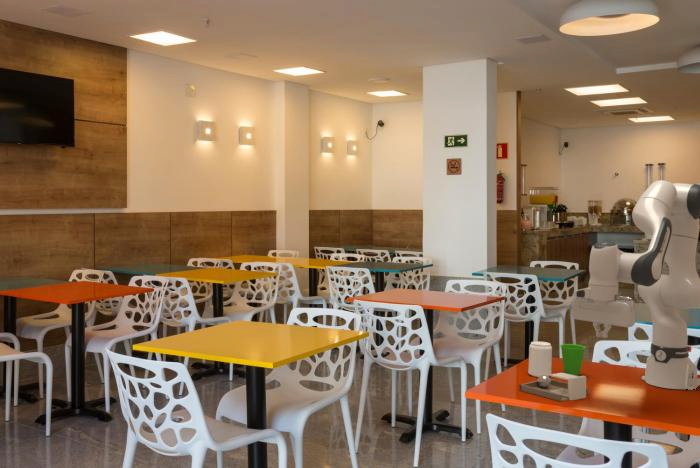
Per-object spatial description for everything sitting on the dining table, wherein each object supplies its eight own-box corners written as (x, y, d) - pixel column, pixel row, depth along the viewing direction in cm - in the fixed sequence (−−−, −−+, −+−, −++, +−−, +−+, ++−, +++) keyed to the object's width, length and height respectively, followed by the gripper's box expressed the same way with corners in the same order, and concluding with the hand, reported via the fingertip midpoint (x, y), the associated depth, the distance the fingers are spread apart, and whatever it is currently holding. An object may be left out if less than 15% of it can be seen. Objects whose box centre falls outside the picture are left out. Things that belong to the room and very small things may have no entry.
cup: (587, 375, 254) (588, 346, 254) (581, 380, 246) (582, 349, 246) (562, 371, 259) (564, 342, 258) (556, 376, 251) (557, 346, 251)
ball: (548, 390, 234) (541, 379, 237) (555, 382, 232) (549, 371, 235) (539, 390, 232) (532, 380, 235) (547, 383, 229) (540, 372, 232)
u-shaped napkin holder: (585, 397, 223) (562, 391, 231) (586, 376, 223) (562, 370, 231) (571, 400, 219) (548, 394, 227) (572, 378, 219) (548, 373, 227)
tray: (547, 383, 240) (547, 378, 240) (588, 394, 227) (588, 388, 227) (519, 390, 230) (519, 384, 230) (560, 401, 217) (560, 395, 217)
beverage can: (552, 378, 247) (553, 346, 246) (529, 377, 249) (530, 344, 248) (550, 373, 255) (551, 341, 254) (527, 372, 256) (528, 340, 256)
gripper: (639, 296, 209) (638, 341, 209) (580, 289, 225) (579, 331, 225) (629, 298, 205) (627, 343, 205) (569, 290, 221) (568, 333, 221)
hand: (601, 337), depth 215 cm, fingers closed
